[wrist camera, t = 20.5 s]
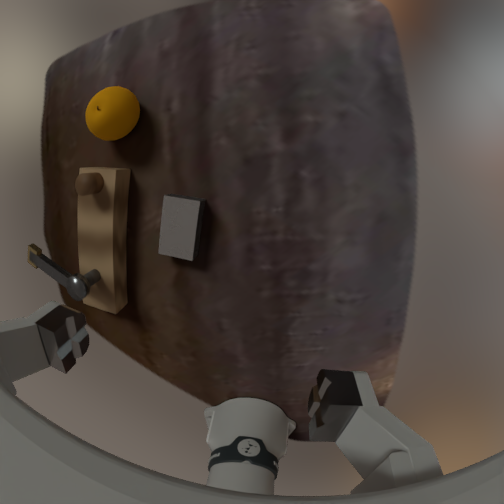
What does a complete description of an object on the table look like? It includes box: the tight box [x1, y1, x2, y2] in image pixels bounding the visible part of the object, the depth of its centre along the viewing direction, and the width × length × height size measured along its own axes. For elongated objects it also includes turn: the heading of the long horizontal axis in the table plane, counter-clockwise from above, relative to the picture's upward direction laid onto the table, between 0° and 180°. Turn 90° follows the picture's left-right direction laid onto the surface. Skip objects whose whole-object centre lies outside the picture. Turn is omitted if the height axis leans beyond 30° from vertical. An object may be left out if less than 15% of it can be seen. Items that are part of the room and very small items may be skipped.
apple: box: [86, 86, 140, 140], centre depth 30 cm, size 8×8×8 cm
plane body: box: [75, 167, 131, 314], centre depth 35 cm, size 22×7×8 cm, turn 171°
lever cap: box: [159, 194, 206, 261], centre depth 36 cm, size 8×5×3 cm, turn 170°
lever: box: [28, 244, 90, 301], centre depth 32 cm, size 13×4×2 cm, turn 66°
